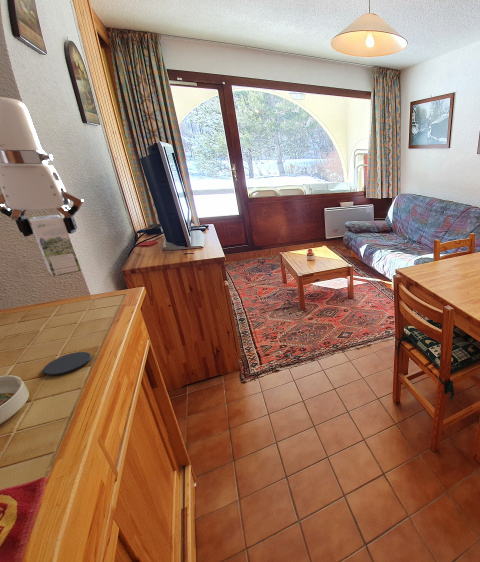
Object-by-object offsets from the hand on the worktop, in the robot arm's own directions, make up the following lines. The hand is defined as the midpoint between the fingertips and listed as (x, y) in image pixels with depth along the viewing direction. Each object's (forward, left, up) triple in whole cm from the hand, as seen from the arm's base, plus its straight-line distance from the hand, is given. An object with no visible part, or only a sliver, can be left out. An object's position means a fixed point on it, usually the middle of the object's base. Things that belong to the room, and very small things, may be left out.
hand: (51, 233), depth 78 cm
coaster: (+5, -26, -23) cm, 35 cm away
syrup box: (0, 0, -11) cm, 11 cm away
